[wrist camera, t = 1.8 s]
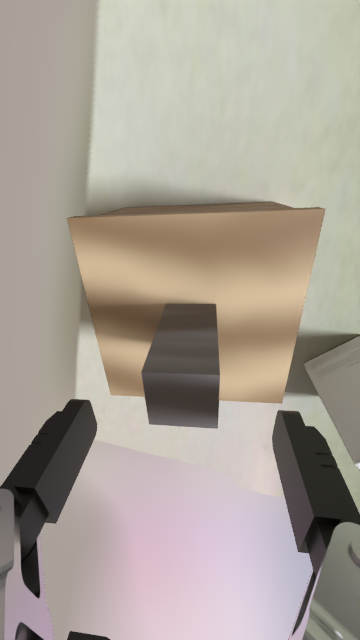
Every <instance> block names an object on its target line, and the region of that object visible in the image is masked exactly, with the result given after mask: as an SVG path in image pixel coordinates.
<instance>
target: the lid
mask: <svg viewBox="0 0 360 640" xmlns="http://www.w3.org/2000/svg"><path fill="white" fill-rule="evenodd" d="M324 213H325V209H323V208H319V207H315V208H287V209H260V210H233V211H205V212H178V213H151V214H124V215H96V216H74V217H70V218H67V220H68V224H69V228H70V232H71V237H72V241H73V245H74V248H75V253H76V257H77V261H78V265H79V269H80V273H81V277H82V281H83V285H84V289H85V293H86V297H87V301H88V305H89V309H90V313H91V317H92V321H93V325H94V329H95V333H96V337H97V341H98V345H99V349H100V353H101V357H102V361H103V365H104V369H105V373H106V377H107V381H108V385H109V389H110V393H111V395H121V396H141V397H145V400H146V406H147V413H148V419H149V424H153V425H169V426H185V427H201V428H218V409H219V400H222V401H243V402H263V403H282V401H283V397H284V392H285V388H286V383H287V379H288V374H289V370H290V365H291V361H292V356H293V352H294V347H295V343H296V338H297V334H298V330H299V325H300V321H301V316H302V312H303V307H304V303H305V298H306V294H307V289H308V285H309V280H310V276H311V271H312V267H313V263H314V258H315V254H316V249H317V245H318V240H319V236H320V231H321V227H322V222H323V218H324Z"/></svg>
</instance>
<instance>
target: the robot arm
mask: <svg viewBox="0 0 360 640" xmlns="http://www.w3.org/2000/svg"><path fill="white" fill-rule="evenodd" d="M96 431H97V422H96V419H95V415H94V412H93V409H92V406H91V403H90V401H89V400H78V399H71V400H70V401H69V402H68V403H67V405H66V406H65V408H64V409H63V411H62V412H61V411H57V412H56V413H55V414H54V415H53V416H51V418H49V419H48V420H47V421H46V422H45V424H44V425H43V426H42V428H41V429H40V431H39V433H38V435H36V437H35V438H34V439H33V441H32V443H31V445H29V447H28V448H27V450H26V451H25V452H24V454H23V455H22V457H21V458H20V460H19V461H18V463H17V464H16V465H15V467H14V468H13V470H12V471H11V473H10V474H9V476H8V477H7V479H6V480H5V481H4V483H3V484H2V485H1V487H0V640H54V632H53V625H52V619H51V615H50V612H49V609H48V606H47V602H46V596H45V584H44V572H43V560H42V548H41V536H40V531H41V529H42V527H43V525H44V523H45V522H46V523H56V522H57V520H58V518H59V515H60V513H61V511H62V509H63V507H64V505H65V502H66V500H67V498H68V496H69V493H70V491H71V489H72V487H73V485H74V482H75V480H76V478H77V476H78V474H79V471H80V469H81V467H82V464H83V462H84V460H85V458H86V456H87V454H88V451H89V449H90V447H91V445H92V443H93V440H94V438H95V435H96ZM272 442H273V450H274V454H275V458H276V462H277V467H278V471H279V475H280V479H281V483H282V487H283V491H284V495H285V499H286V504H287V508H288V512H289V516H290V520H291V524H292V528H293V532H294V536H295V540H296V545H297V549H298V552H303V553H309V555H310V559H311V562H312V566H313V569H312V572H311V575H310V578H309V580H308V583H307V586H306V589H305V592H304V595H303V598H302V601H301V604H300V607H299V610H298V613H297V616H296V619H295V622H294V625H293V627H292V630H291V633H290V636H289V639H288V640H360V514H359V512H358V509H357V507H356V505H355V503H354V501H353V498H352V496H351V494H350V492H349V490H348V487H347V485H346V483H345V481H344V479H343V477H342V474H341V472H340V470H339V469H338V467H337V463H336V461H335V459H334V457H333V456H332V452H331V450H330V448H329V446H328V444H327V442H326V439H325V438H324V437H323V436H322V435H321V434H320V433H319V431H318V430H317V429H316V428H315V427H312V426H305V424H304V422H303V419H302V417H301V415H300V413H299V412H298V411H282V410H279V411H278V412H277V416H276V421H275V425H274V430H273V436H272ZM67 640H110V639H108V638H107V637H103V636H97V635H91V634H84V633H79V632H72V631H70V633H69V636H68V639H67Z"/></svg>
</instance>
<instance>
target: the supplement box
mask: <svg viewBox="0 0 360 640" xmlns="http://www.w3.org/2000/svg"><path fill="white" fill-rule="evenodd" d="M304 367H305V369H306V371H307V373H308V375H309V377H310V379H311V381H312V383H313V385H314V387H315V389H316V391H317V393H318V395H319V397H320V399H321V400H322V402H323V404H324V406H325V408H326V410H327V412H328V414H329V416H330V418H331V420H332V422H333V423H334V425H335V427H336V429H337V431H338V433H339V435H340V437H341V439H342V441H343V443H344V445H345V447H346V449H347V451H348V453H349V455H350V456H351V459H352V461H353V463H354V464H355V466H356V467H357V468H358V469H359V470H360V336H358V337H356V338H354V339H352V340H350V341H348V342H346V343H344V344H342V345H340V346H338V347H336V348H334V349H332V350H330V351H327V352H326V353H324V354H322V355H320V356H318V357H316V358H314V359H311V360H310V361H308V362H306V363H304Z"/></svg>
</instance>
